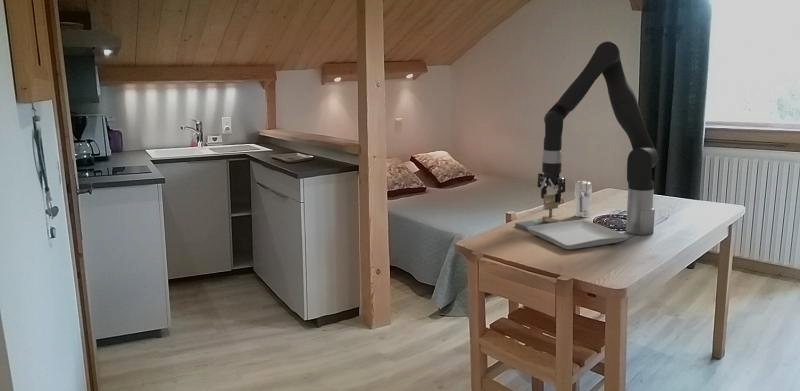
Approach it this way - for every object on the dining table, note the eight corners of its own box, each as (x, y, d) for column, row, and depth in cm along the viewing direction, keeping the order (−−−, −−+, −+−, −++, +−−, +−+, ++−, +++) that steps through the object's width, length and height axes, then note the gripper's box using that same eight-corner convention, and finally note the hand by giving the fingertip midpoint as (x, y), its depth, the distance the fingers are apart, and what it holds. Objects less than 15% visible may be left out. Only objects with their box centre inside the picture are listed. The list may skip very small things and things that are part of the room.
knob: (561, 222, 255) (562, 194, 253) (539, 225, 251) (540, 197, 248) (551, 218, 261) (552, 191, 259) (529, 222, 256) (530, 195, 254)
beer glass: (588, 214, 274) (590, 180, 271) (592, 218, 268) (593, 183, 265) (572, 214, 275) (573, 180, 272) (575, 217, 268) (576, 183, 265)
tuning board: (570, 227, 254) (570, 223, 254) (534, 233, 246) (534, 229, 246) (549, 220, 265) (549, 217, 265) (515, 226, 257) (515, 222, 257)
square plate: (524, 235, 245) (524, 226, 244) (583, 227, 254) (583, 218, 253) (566, 254, 220) (566, 243, 219) (629, 245, 229) (630, 234, 228)
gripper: (571, 162, 247) (569, 202, 251) (547, 158, 260) (546, 196, 263) (556, 164, 244) (554, 205, 248) (533, 159, 257) (532, 198, 260)
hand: (550, 200), depth 255 cm, fingers open, 8 cm apart
